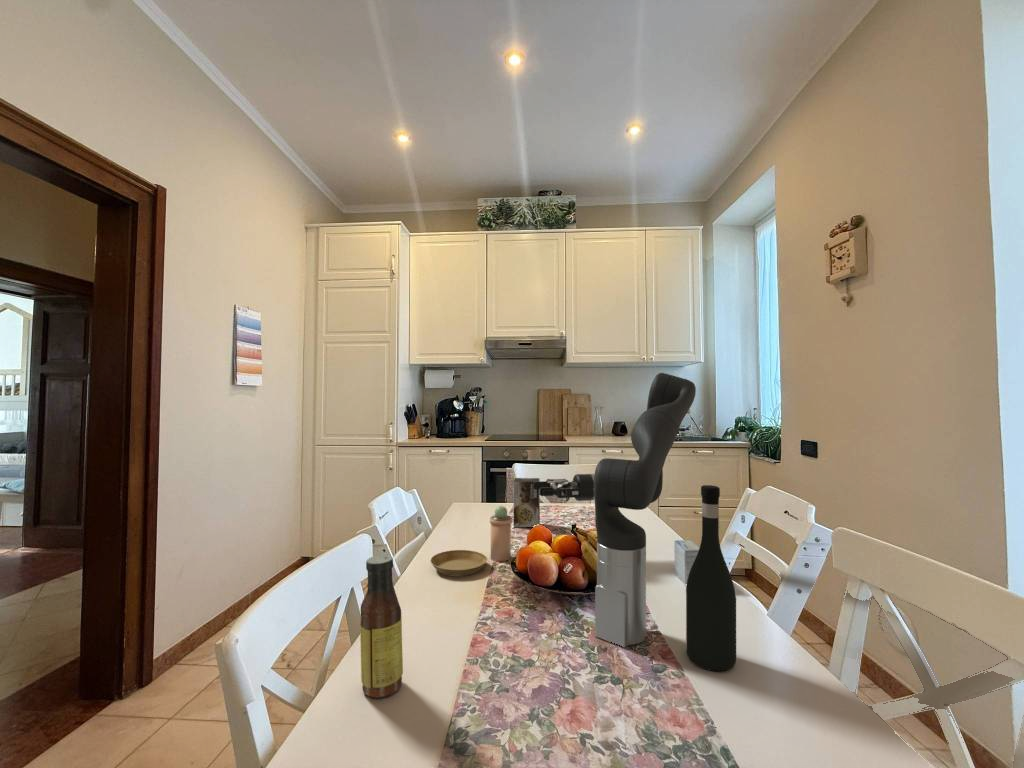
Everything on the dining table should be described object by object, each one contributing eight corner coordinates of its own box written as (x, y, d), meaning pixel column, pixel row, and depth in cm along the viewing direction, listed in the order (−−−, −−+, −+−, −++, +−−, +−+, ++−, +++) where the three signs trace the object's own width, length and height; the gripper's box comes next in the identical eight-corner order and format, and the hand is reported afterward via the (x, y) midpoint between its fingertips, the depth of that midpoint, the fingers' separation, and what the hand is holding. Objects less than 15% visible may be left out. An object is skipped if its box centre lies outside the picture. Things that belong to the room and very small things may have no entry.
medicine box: (703, 586, 112) (703, 550, 112) (684, 586, 112) (684, 549, 112) (691, 573, 120) (691, 539, 120) (674, 573, 120) (674, 539, 120)
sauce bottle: (409, 679, 75) (411, 554, 75) (389, 704, 69) (391, 568, 69) (373, 672, 76) (375, 550, 77) (350, 696, 70) (352, 563, 71)
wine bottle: (676, 652, 83) (676, 483, 84) (711, 644, 86) (710, 480, 86) (710, 678, 75) (709, 492, 76) (747, 668, 78) (746, 489, 79)
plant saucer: (459, 555, 133) (459, 545, 133) (498, 567, 124) (498, 557, 124) (418, 570, 121) (418, 560, 121) (458, 585, 112) (458, 574, 112)
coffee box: (540, 523, 166) (540, 477, 166) (539, 528, 159) (539, 481, 160) (514, 522, 166) (514, 477, 167) (512, 527, 160) (513, 480, 160)
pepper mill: (501, 563, 126) (501, 510, 126) (484, 558, 130) (485, 506, 130) (516, 557, 131) (516, 506, 131) (499, 552, 135) (500, 502, 135)
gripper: (583, 470, 142) (531, 471, 140) (599, 478, 128) (542, 480, 126) (583, 494, 142) (531, 496, 139) (599, 506, 128) (541, 508, 125)
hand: (536, 488), depth 132 cm, fingers open, 8 cm apart
